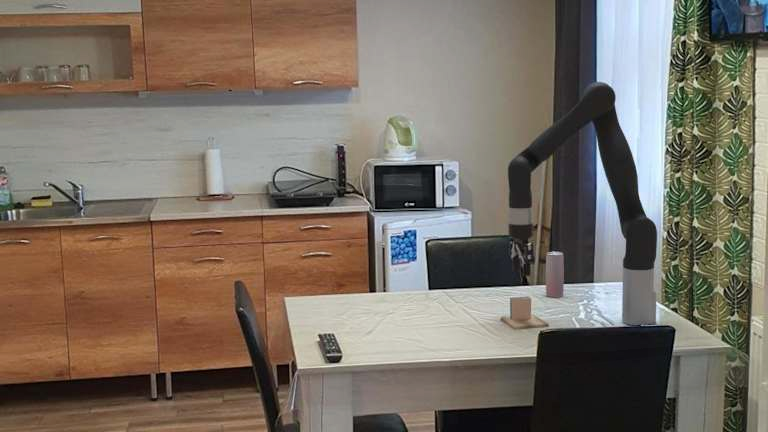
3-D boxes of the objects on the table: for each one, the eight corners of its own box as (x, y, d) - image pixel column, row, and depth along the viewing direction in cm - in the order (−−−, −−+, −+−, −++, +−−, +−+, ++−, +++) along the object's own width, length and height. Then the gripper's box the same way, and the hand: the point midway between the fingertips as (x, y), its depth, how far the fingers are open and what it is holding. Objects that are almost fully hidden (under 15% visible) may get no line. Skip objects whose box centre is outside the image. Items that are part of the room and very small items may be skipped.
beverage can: (545, 293, 332) (545, 251, 330) (563, 293, 331) (563, 251, 329) (546, 297, 326) (546, 254, 324) (563, 297, 325) (564, 254, 323)
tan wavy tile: (533, 316, 301) (533, 314, 300) (548, 326, 289) (548, 323, 289) (500, 319, 298) (500, 317, 298) (514, 329, 286) (515, 326, 286)
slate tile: (528, 316, 298) (528, 296, 297) (531, 318, 295) (531, 298, 294) (510, 318, 296) (510, 297, 295) (513, 320, 294) (513, 299, 293)
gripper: (541, 224, 285) (541, 276, 288) (523, 217, 299) (523, 268, 301) (518, 225, 284) (518, 278, 286) (500, 219, 297) (501, 269, 300)
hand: (521, 273), depth 294 cm, fingers open, 8 cm apart
